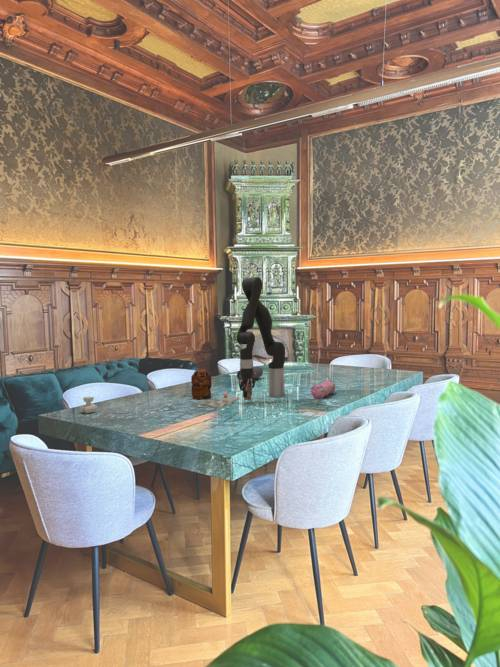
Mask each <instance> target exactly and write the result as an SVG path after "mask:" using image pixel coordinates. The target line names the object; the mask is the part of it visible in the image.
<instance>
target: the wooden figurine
mask: <svg viewBox="0 0 500 667" xmlns="http://www.w3.org/2000/svg"><path fill="white" fill-rule="evenodd" d="M190 379H191V380H190V381H191V396H192V397H191V398H192V400H196V401H197V400H200V401H201V400H205V399H206V400H207V399H211V398H212V390H211V388H212V384H213V383H212V375H211V373H210V372H208V371H207V370H206V369H205V368H197V369H196V370H195V371H194V372H193V374H192V375H191V377H190Z"/></svg>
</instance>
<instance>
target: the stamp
mask: <svg viewBox="0 0 500 667" xmlns="http://www.w3.org/2000/svg"><path fill="white" fill-rule="evenodd" d="M94 399H95V397H94V396H86V397H85V396H84V397H82V400H83V402H85V404H83V405H80V407H79V408H80V411H81V412H83V413H85V414H91V412H92V413H95V412H96V411H97V409H98V405H96V404H93V403H92V402H93V401H94Z"/></svg>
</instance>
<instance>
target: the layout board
mask: <svg viewBox="0 0 500 667" xmlns="http://www.w3.org/2000/svg"><path fill="white" fill-rule="evenodd" d="M233 404H235V401H229V400H223V399H221V398H214V399H209V400H206V401H202V402H199V406H203V407H209V408H216V409H220V408H224V407H227V406H230V405H233Z"/></svg>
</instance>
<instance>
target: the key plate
mask: <svg viewBox="0 0 500 667" xmlns="http://www.w3.org/2000/svg"><path fill="white" fill-rule="evenodd" d="M220 399H223V400H229V401H234V402H236V401H238V400H239V401H240V399H241V398H240V396H233V395H228V392H227V391H226V392H225V391H224V392H223V397H220Z"/></svg>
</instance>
